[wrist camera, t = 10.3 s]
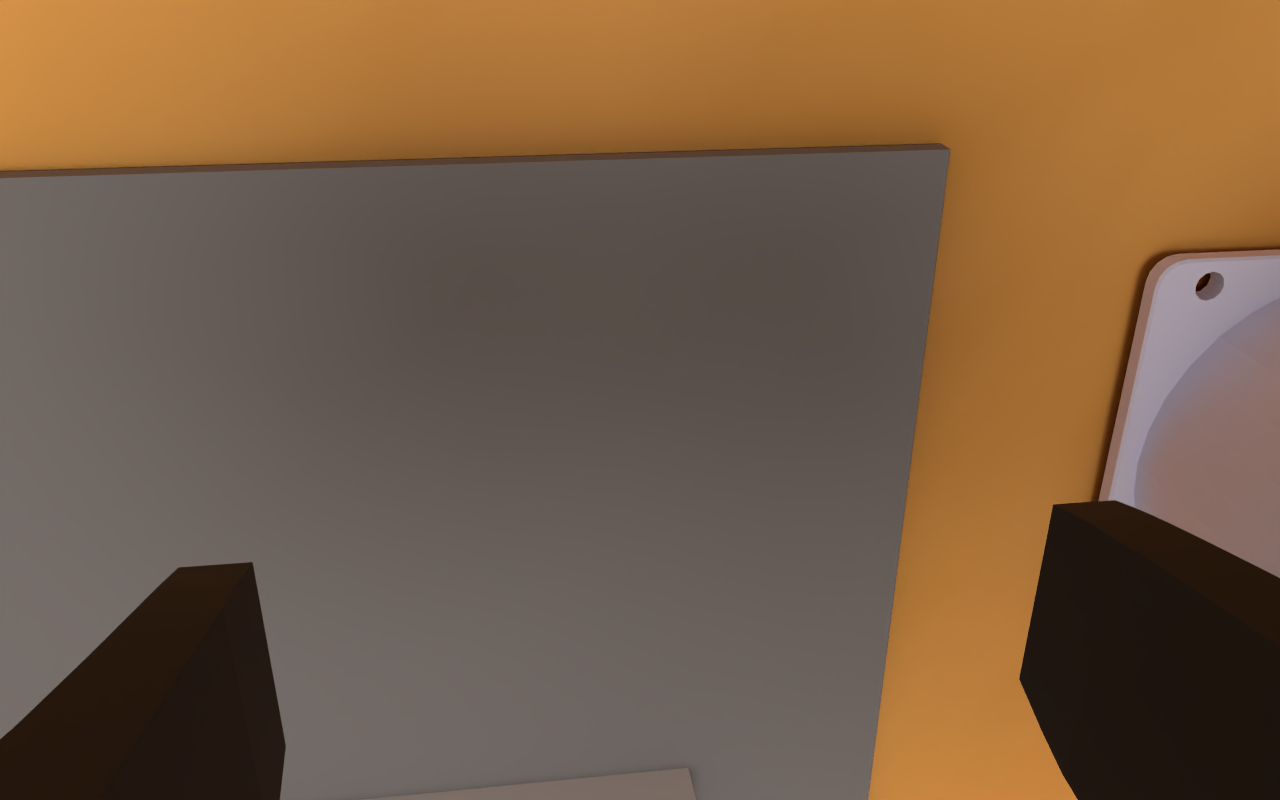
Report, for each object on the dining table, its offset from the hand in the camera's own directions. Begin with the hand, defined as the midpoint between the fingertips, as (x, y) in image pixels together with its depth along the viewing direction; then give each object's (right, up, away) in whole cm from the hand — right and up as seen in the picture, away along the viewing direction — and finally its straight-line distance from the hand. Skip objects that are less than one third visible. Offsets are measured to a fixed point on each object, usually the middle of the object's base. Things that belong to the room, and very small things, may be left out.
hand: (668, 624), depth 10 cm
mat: (-4, -7, +13) cm, 16 cm away
